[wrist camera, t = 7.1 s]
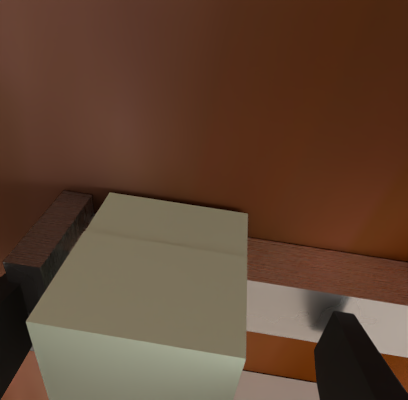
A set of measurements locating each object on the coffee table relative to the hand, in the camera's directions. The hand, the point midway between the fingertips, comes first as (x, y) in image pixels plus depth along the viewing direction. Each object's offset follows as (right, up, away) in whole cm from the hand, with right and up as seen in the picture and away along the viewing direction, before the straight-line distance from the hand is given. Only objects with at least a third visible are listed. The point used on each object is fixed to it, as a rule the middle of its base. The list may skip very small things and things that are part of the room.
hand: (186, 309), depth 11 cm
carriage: (-1, +2, +2) cm, 3 cm away
